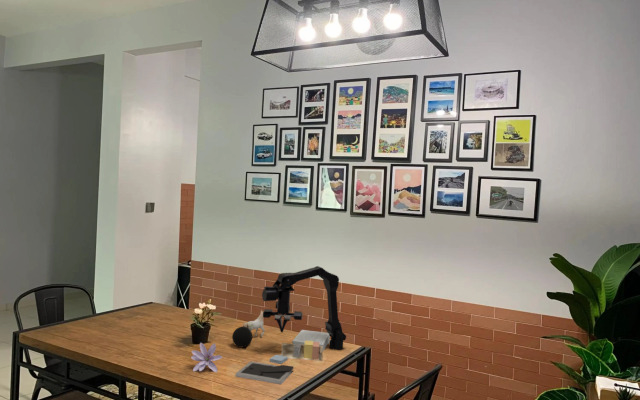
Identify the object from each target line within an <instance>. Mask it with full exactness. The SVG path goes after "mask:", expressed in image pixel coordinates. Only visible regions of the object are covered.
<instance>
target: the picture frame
mask: <svg viewBox="0 0 640 400" xmlns="http://www.w3.org/2000/svg"><path fill="white" fill-rule="evenodd" d="M292 373H294V366H292V365H286V364H279V365H275V364H269V363H262V362H258V361H249V362H248V363H247V364H245V365H244V366H243V367H242V368H241V369H239V370H238V371H236V373H235V375H234V376H235V378H241V379H247V380H252V381H257V382H264V383H270V384H276V385H283V383H284V382H285V381H286V380H287V379H288V378H289V377H290V376H291V375H292Z"/></svg>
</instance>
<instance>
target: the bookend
mask: <svg viewBox="0 0 640 400" xmlns="http://www.w3.org/2000/svg"><path fill="white" fill-rule="evenodd" d="M300 355H301V343H295V346H294V358H300Z"/></svg>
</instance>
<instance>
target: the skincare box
mask: <svg viewBox="0 0 640 400" xmlns="http://www.w3.org/2000/svg"><path fill="white" fill-rule="evenodd" d="M330 340H331V337H330V336H329V333H328V332H324V331H323V332H322V331H315V330H306V329H301V330H300V331H299V333H298V334H297V335H296V336H295V337H294V338H293V339H292V343H291V344H295V343H301V345H304V344H305V341H313V342H320V343H319V346H323V352H324V351H325V349H326V348H327V346H328V345H330Z"/></svg>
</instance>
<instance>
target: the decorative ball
mask: <svg viewBox="0 0 640 400" xmlns="http://www.w3.org/2000/svg"><path fill="white" fill-rule="evenodd" d="M231 339H232V343H233V344H234V345H235V346H237V347H238V348H245V347H248V346H249V345H250V344H251V343H252V341H253V332H252V330H251V331H250V329H248V328H247V327H243V326H239V327H237V328H236V329H234V331H233V333H232V338H231Z"/></svg>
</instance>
